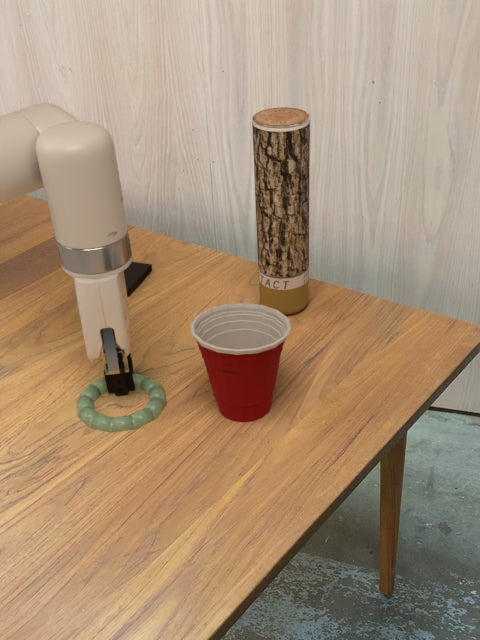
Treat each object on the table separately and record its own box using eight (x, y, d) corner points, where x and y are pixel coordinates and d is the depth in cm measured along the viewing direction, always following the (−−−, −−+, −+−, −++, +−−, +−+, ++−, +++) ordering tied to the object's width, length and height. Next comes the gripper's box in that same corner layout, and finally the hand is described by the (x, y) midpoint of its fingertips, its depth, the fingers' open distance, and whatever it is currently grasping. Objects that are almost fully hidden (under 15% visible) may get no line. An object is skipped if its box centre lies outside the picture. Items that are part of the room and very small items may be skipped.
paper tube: (283, 286, 112) (280, 103, 95) (318, 303, 108) (322, 115, 91) (249, 305, 109) (240, 118, 92) (284, 322, 105) (281, 131, 88)
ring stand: (79, 289, 113) (63, 216, 106) (105, 263, 119) (91, 193, 111) (129, 296, 111) (116, 223, 104) (152, 270, 117) (142, 199, 109)
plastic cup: (306, 395, 93) (306, 307, 85) (268, 450, 86) (265, 360, 78) (225, 375, 97) (218, 289, 88) (183, 426, 90) (171, 338, 81)
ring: (62, 428, 90) (58, 414, 89) (104, 377, 97) (101, 363, 96) (143, 445, 87) (140, 431, 86) (181, 391, 94) (179, 378, 93)
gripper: (61, 220, 88) (91, 356, 101) (56, 291, 76) (91, 434, 89) (128, 213, 89) (149, 349, 101) (133, 282, 77) (157, 426, 90)
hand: (122, 388), depth 95 cm, fingers closed on ring, 2 cm apart
